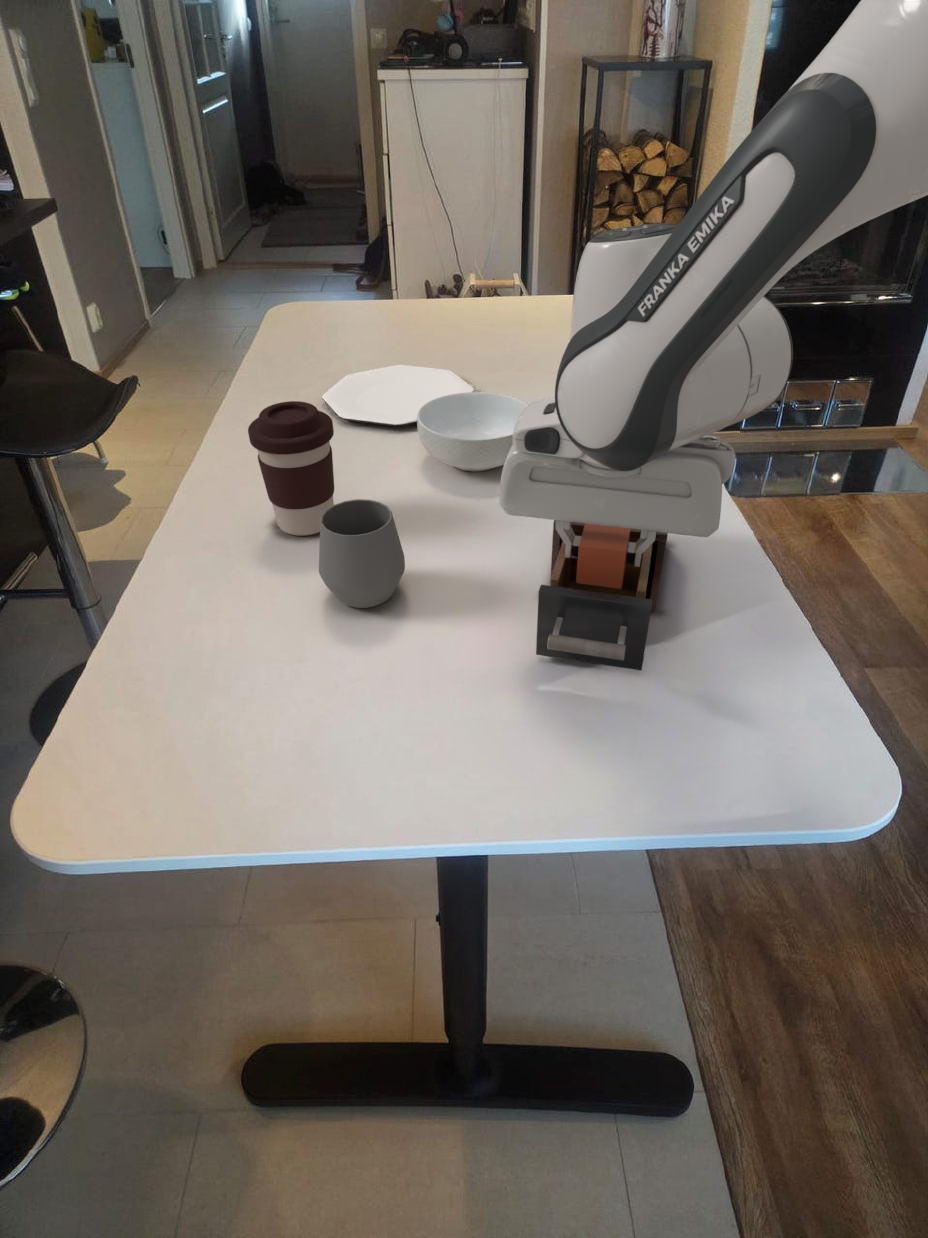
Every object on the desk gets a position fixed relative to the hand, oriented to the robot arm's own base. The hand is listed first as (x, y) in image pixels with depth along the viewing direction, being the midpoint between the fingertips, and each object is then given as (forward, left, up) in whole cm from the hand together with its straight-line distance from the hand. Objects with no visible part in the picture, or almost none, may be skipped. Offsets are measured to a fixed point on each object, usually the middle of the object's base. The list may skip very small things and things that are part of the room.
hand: (602, 559), depth 78 cm
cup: (+26, -1, -9) cm, 28 cm away
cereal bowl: (+22, -36, -9) cm, 43 cm away
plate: (+40, -54, -9) cm, 68 cm away
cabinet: (0, -12, -9) cm, 15 cm away
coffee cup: (+39, -14, -9) cm, 42 cm away
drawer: (0, +2, -8) cm, 8 cm away
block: (0, 0, -2) cm, 2 cm away
